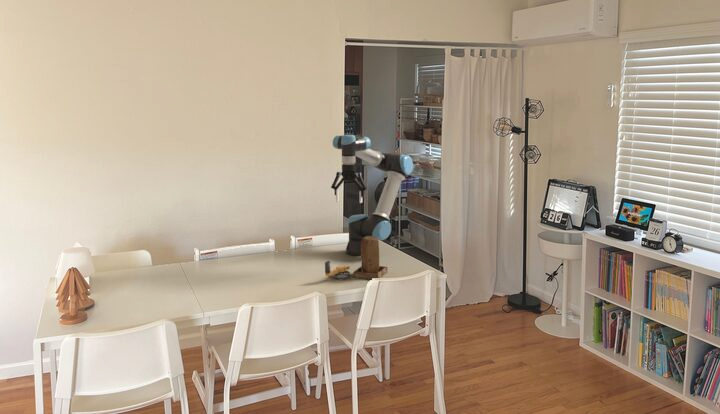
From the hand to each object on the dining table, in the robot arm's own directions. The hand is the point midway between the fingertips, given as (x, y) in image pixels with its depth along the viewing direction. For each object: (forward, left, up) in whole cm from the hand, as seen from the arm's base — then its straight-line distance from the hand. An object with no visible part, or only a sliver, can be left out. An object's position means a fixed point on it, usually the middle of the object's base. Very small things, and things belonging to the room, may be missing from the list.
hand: (349, 202), depth 340 cm
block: (+12, +16, -36) cm, 41 cm away
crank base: (+21, +4, -36) cm, 42 cm away
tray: (+12, +17, -36) cm, 42 cm away
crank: (+23, +3, -33) cm, 41 cm away
